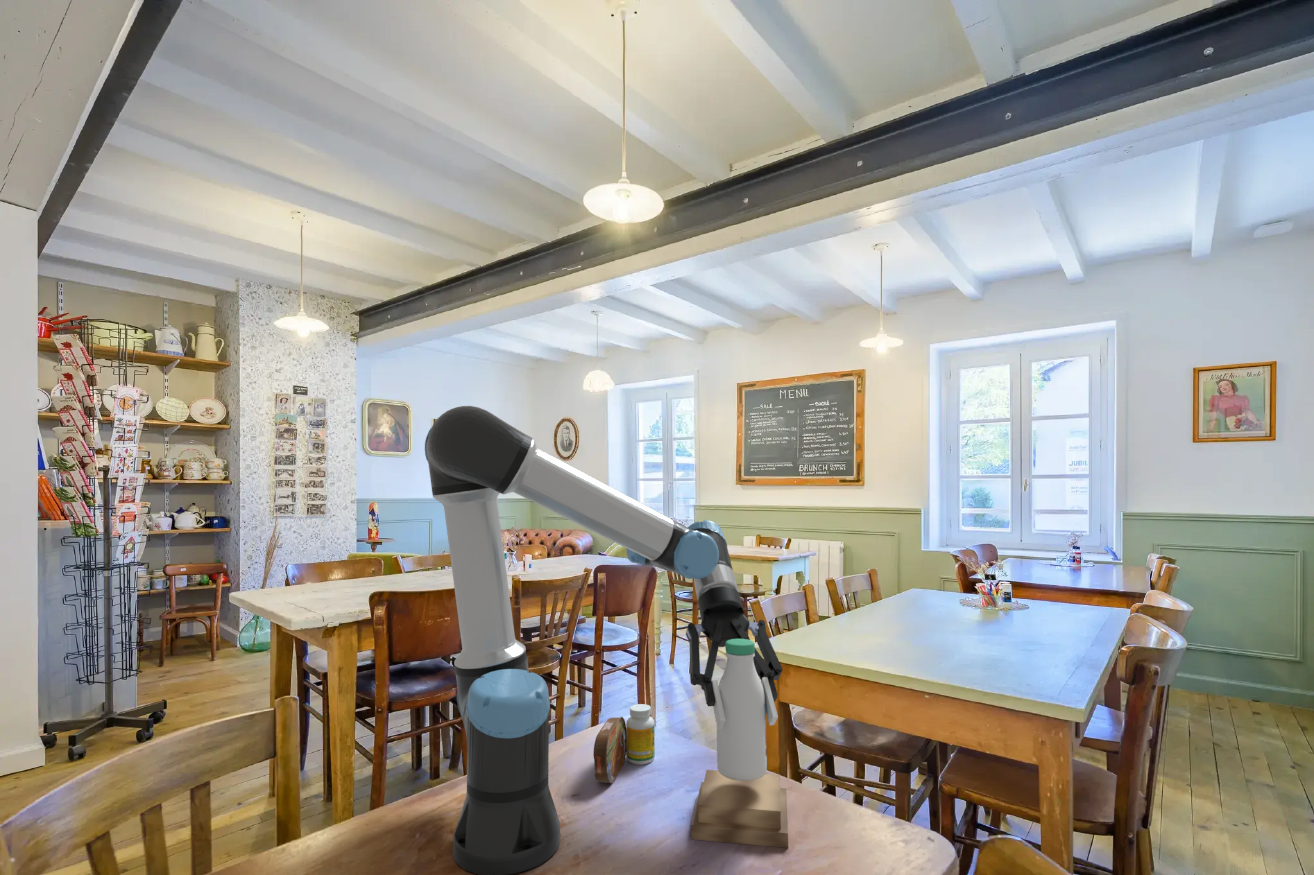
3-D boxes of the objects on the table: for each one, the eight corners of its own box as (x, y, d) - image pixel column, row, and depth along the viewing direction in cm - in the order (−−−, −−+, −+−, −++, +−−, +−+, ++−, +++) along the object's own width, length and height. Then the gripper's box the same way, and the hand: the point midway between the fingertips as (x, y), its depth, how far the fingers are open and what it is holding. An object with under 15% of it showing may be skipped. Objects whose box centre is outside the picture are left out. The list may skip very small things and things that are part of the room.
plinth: (691, 839, 96) (690, 807, 97) (701, 794, 110) (701, 766, 110) (788, 848, 94) (787, 815, 94) (786, 800, 108) (786, 772, 108)
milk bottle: (766, 784, 98) (763, 648, 99) (714, 780, 100) (712, 646, 101) (767, 762, 106) (765, 636, 107) (719, 759, 107) (718, 634, 108)
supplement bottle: (624, 755, 126) (624, 703, 127) (651, 752, 127) (651, 701, 128) (629, 766, 121) (629, 713, 122) (657, 763, 122) (657, 711, 123)
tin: (608, 792, 111) (608, 741, 112) (590, 791, 112) (590, 740, 112) (628, 755, 126) (628, 710, 127) (612, 754, 127) (612, 709, 127)
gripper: (768, 606, 121) (804, 729, 104) (659, 611, 117) (678, 739, 100) (777, 582, 116) (817, 706, 99) (664, 586, 112) (685, 716, 96)
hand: (747, 723), depth 100 cm, fingers closed on milk bottle, 7 cm apart
